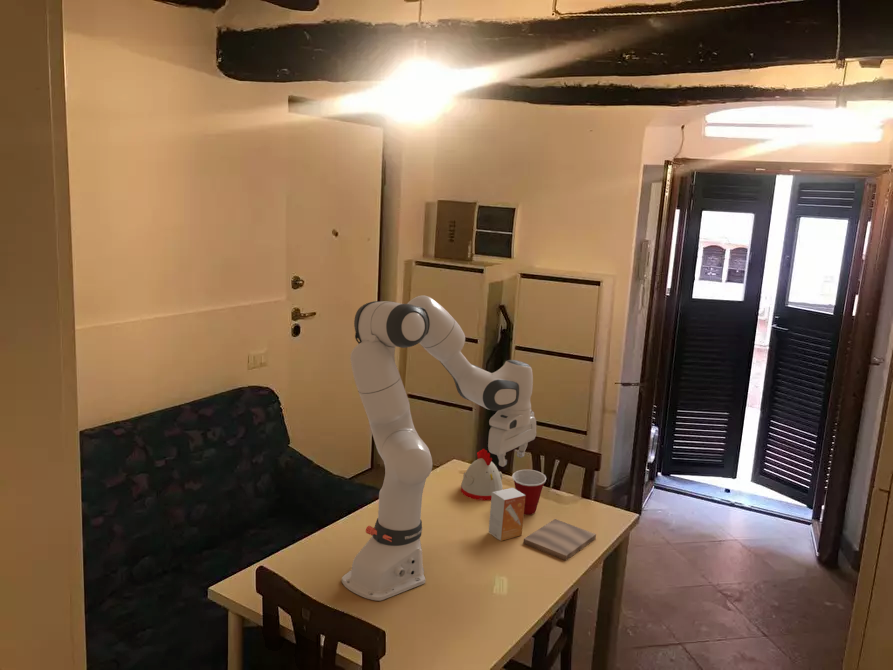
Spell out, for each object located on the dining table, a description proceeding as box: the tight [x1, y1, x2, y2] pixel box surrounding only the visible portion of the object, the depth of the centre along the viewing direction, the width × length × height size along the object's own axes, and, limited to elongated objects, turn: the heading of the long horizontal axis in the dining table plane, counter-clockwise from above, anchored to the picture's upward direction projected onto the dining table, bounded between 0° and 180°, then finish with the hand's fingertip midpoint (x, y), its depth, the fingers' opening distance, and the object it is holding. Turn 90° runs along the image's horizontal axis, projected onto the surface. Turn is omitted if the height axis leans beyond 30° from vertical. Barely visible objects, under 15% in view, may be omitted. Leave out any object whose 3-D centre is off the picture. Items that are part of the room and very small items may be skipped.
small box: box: [488, 487, 526, 542], centre depth 216 cm, size 8×6×13 cm
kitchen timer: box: [460, 448, 503, 501], centre depth 245 cm, size 14×14×15 cm
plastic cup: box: [511, 469, 547, 516], centre depth 232 cm, size 11×11×12 cm
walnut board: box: [523, 518, 597, 561], centre depth 215 cm, size 18×14×2 cm
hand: (511, 461), depth 213 cm, fingers open, 8 cm apart
